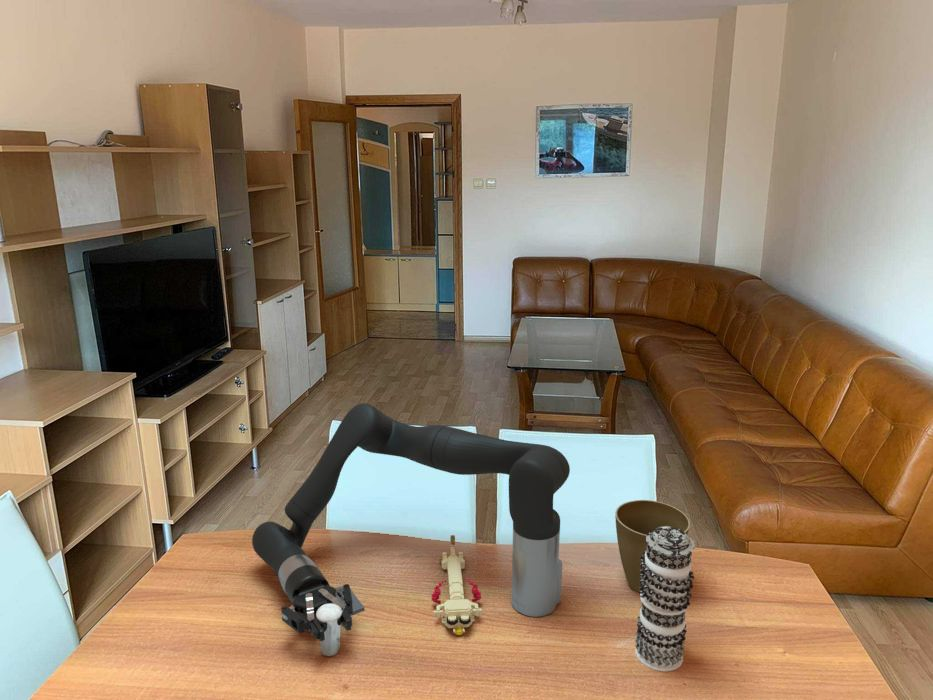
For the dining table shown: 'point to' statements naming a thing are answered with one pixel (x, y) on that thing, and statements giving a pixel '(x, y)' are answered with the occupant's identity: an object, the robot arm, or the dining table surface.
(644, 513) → the plant pot
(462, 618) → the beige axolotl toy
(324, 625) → the milkshake
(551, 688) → the dining table surface
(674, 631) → the decorative candle
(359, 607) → the charcoal mat
